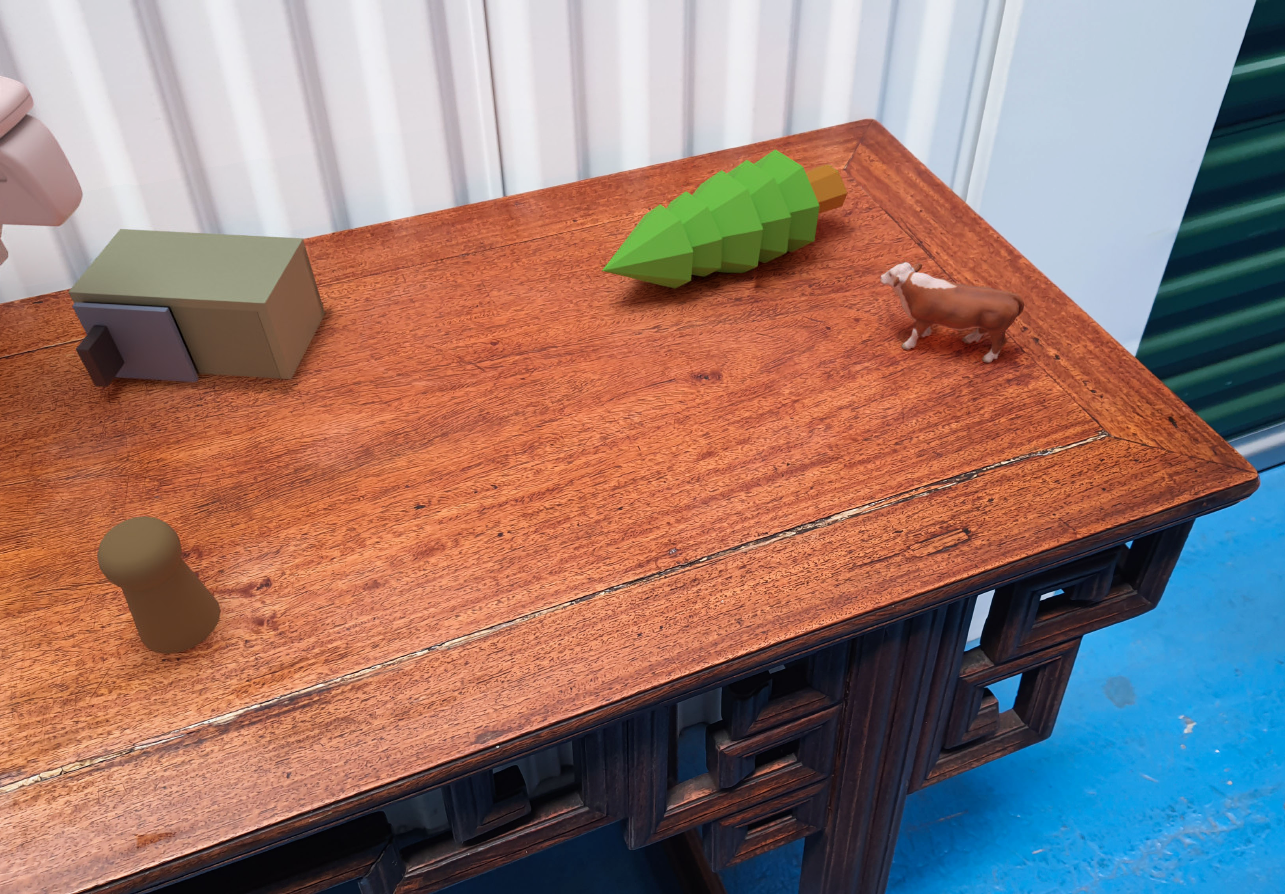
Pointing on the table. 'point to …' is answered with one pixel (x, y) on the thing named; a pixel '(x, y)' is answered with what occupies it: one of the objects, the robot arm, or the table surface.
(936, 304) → the bull figurine
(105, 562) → the cork
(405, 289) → the table surface
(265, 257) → the cupboard
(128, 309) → the slide door
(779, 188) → the decorative tree
